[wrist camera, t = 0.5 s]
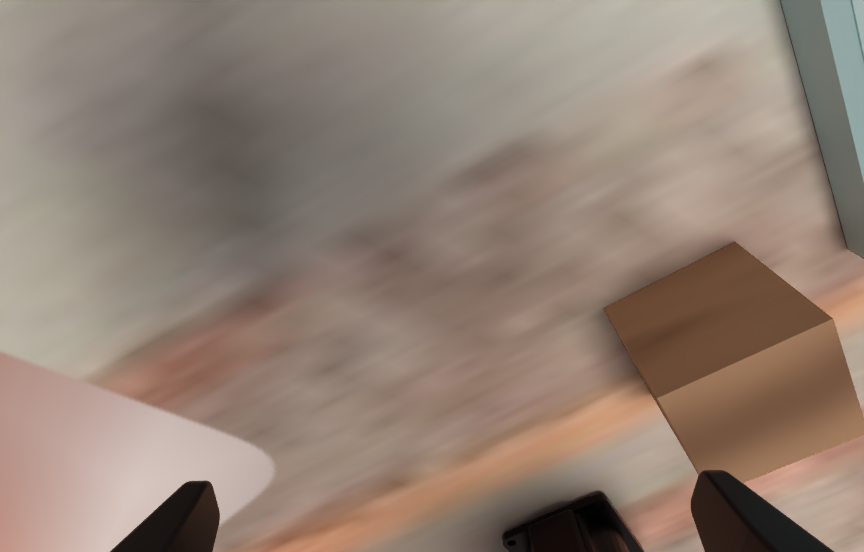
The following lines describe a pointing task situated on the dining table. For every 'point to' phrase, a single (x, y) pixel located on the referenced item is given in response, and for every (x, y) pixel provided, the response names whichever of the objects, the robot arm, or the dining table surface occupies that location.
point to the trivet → (835, 97)
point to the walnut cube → (740, 365)
